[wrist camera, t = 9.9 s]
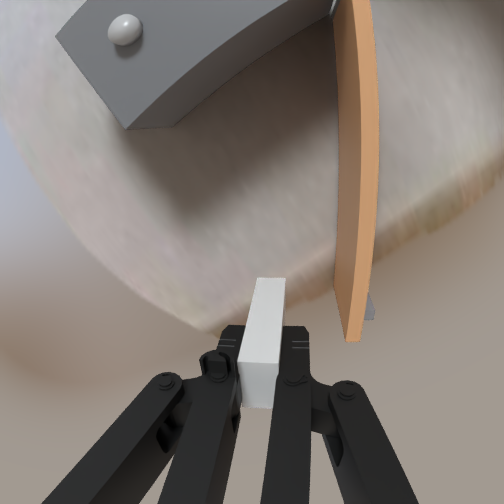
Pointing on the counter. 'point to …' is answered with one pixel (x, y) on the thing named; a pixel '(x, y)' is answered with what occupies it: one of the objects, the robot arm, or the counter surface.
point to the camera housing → (175, 49)
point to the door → (356, 161)
